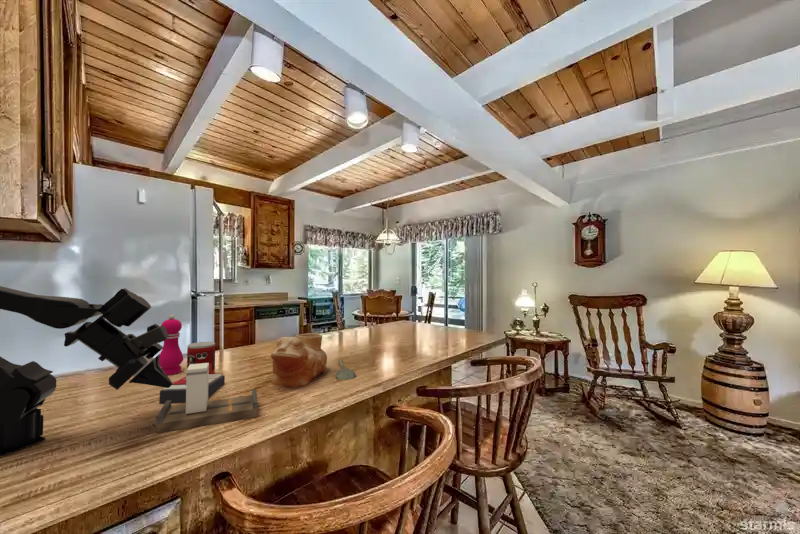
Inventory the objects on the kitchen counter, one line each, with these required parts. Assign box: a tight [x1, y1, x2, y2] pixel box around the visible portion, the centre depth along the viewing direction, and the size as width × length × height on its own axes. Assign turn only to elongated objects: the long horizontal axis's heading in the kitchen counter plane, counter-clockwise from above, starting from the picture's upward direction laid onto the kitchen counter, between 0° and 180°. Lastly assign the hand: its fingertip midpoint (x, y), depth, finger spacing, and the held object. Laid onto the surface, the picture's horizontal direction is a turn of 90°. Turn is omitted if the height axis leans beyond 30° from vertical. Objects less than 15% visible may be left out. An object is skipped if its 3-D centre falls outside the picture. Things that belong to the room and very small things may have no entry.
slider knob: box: [185, 363, 209, 414], centre depth 79 cm, size 4×5×10 cm
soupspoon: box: [335, 359, 356, 381], centre depth 118 cm, size 22×3×7 cm
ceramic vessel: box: [270, 332, 328, 388], centre depth 110 cm, size 14×26×15 cm, turn 170°
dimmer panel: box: [155, 388, 259, 434], centre depth 80 cm, size 20×10×4 cm, turn 115°
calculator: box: [158, 373, 226, 405], centre depth 95 cm, size 11×4×15 cm
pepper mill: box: [159, 314, 184, 376], centre depth 114 cm, size 7×7×20 cm
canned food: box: [186, 341, 216, 374], centre depth 109 cm, size 8×8×11 cm
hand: (170, 385), depth 76 cm, fingers closed
